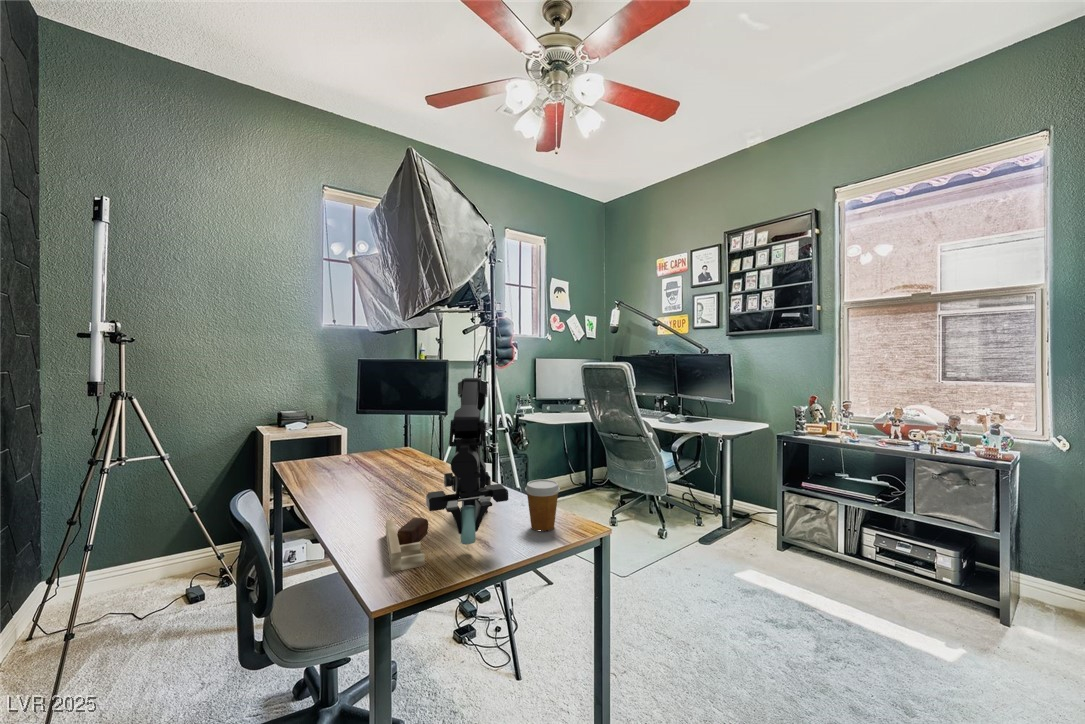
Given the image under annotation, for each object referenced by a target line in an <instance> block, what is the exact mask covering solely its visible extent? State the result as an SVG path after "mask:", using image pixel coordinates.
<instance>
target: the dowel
mask: <svg viewBox="0 0 1085 724" xmlns="http://www.w3.org/2000/svg"><path fill="white" fill-rule="evenodd" d="M459 508H460V513H461V526H462V532H461V534H460V543H461V544H462V545H473V544H474V543H475V542H476V532H475V506H472V505H467V506H462V505H461V507H459Z"/></svg>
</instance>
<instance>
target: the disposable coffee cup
mask: <svg viewBox="0 0 1085 724" xmlns="http://www.w3.org/2000/svg"><path fill="white" fill-rule="evenodd" d="M524 489H525V492H526V495H527V496H526V497H527V503H528V510H529V517H530V528H531V527H532V528H533V529H535V530H541V531H545V532H547V531H546V530H550V531H552V530H554V529H555V524H556V523H555V522H556V515H557V506H558V505H557V504H558V496H559V493H560V489H561V487H559V483H558V482H557V481H555V480H553V479H552V480H551V479H535V480H530V481H528V482H527V483H526V487H525V488H524ZM532 528H531V529H532ZM553 528H554V529H553ZM533 529H532V530H533ZM551 529H552V530H551ZM535 530H534V531H535Z"/></svg>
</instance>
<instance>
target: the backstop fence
mask: <svg viewBox="0 0 1085 724" xmlns="http://www.w3.org/2000/svg"><path fill="white" fill-rule="evenodd" d="M397 533H398V530H397V528H396V523H395V519H394V518H391V519H386V520H385V537H386V543H387V550H388V556H389V564H390V569H391V572H392V573H393V572H398V571H403V570H410V569H415V568H419V567H425V559H426V557H425V552H423V553H422V552H421V551H422V547H421V546H422V543H421V541H419V542H416V543H410V544H404V545H399V540H398V536H397Z"/></svg>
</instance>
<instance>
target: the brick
mask: <svg viewBox="0 0 1085 724" xmlns="http://www.w3.org/2000/svg"><path fill="white" fill-rule="evenodd" d="M428 529H429V520H428V519H427V518H424V517H412V518H411V519H410V520H409V521H408V522H406V524H404V525H403V526H402V527H400V528H399V529H398V530H397V536H398V540H399V545H404V544H410V543H416V542H421V541H422V539H424V537H426V535H427V534H428Z"/></svg>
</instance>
